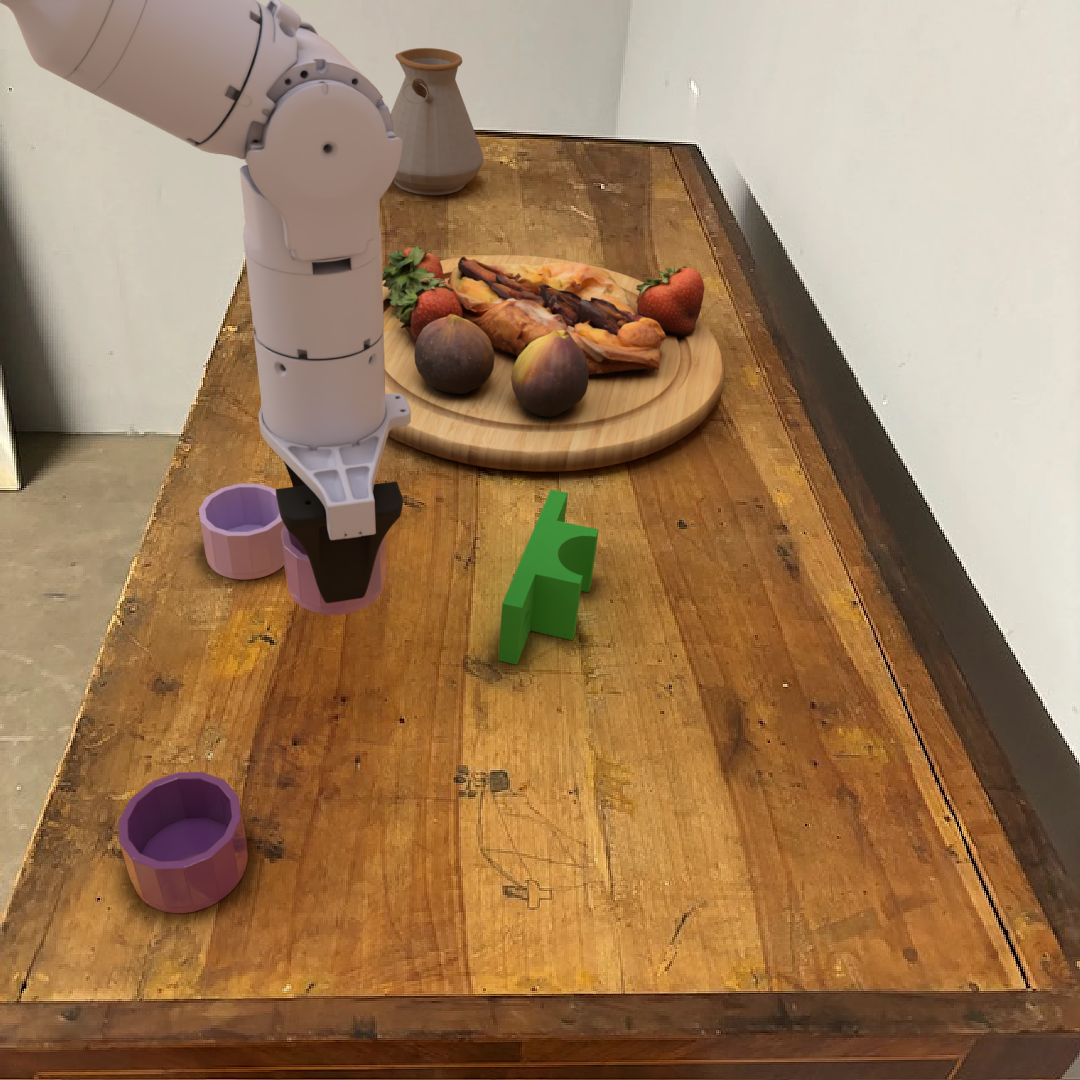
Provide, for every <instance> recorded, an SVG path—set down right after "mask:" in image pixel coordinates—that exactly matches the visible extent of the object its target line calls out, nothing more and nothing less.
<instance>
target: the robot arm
mask: <svg viewBox="0 0 1080 1080" xmlns="http://www.w3.org/2000/svg"><path fill="white" fill-rule="evenodd" d="M0 4H2V5H3V6H5V7H7V8H8V9H9V10H10V12H11V13H12V14H13V16H14V18H15V20H16V22H17V25H18V28H19V30H20V32H21V35H22V37H23V40H24V42H25V44H26V47H27V49H28V51H29V54H30V56H31V58H32V60H33V61H34V62H35V64H36V65H37V66H38V67H40V68H42V69H44V70H46V71H48V72H50V73H52V74H54V75H56V76H57V77H60V78H61V79H63V80H66V81H67V82H69V83H71V84H73V85H75V86H77V87H79V88H80V89H82V90H85V91H87V92H88V93H90V94H92V95H94V96H96V97H98V98H100V99H101V100H103V101H106V102H108V103H109V104H111V105H113V106H115V107H117V108H119V109H121V110H123V111H125V112H127V113H128V114H131V115H133V116H135V117H136V118H138V119H140V120H142V121H144V122H146V123H148V124H150V125H152V126H154V127H155V128H158V129H160V130H162V131H164V132H166V133H168V134H170V135H171V136H173V137H175V138H177V139H179V140H181V141H182V142H185V143H187V144H189V145H191V146H192V147H194V148H196V149H198V150H200V151H202V152H205V153H208V154H215V155H223V156H229V157H234V158H237V159H239V160H244V162H245V164H244V165H242V166H241V167H240V168H239V175H240V176H239V177H240V187H241V195H242V204H243V205H242V206H243V213H244V226H243V233H242V235H243V236H242V237H243V238H242V239H243V247H244V254H245V255H244V256H245V264H246V273H247V284H248V291H249V300H250V310H251V317H252V318H251V319H252V328H253V339H254V348H255V356H256V365H257V374H258V384H259V394H260V404H261V406H259V408H258V424H259V432H260V435H261V437H262V439H263V441H264V442H265V443H266V444H267V446H269V447H270V448H271V449H272V450H273V451H274V452H275V454H277V456H278V457H279V459H281V460H282V461H283V464H284V466H285V468H286V470H287V474H288V475H289V478H290V481H291V485H292V486H290V487H281V488H275V489H276V497H277V502H278V507H279V512H280V516H281V519H282V521H283V523H284V525H285V526H286V528H287V530H288V531H289V532H290V533H291V534H292V535H293V536H294V537H295V538H296V539H297V540H298V541H299V543H300V544H301V545H302V547H303V549H304V550H305V552H306V554H307V556H308V558H309V561H310V564H311V567H312V570H313V573H314V577H315V580H316V583H317V586H318V589H319V591H320V594H321V596H322V598H323V600H324V601H325V602H326V603H333V602H340V601H346V600H353V599H359V598H363V597H364V596H365V594H366V591H367V589H368V586H369V582H370V579H371V575H372V571H373V567H374V563H375V559H376V555H377V552H378V549H379V547H380V545H381V542H382V540H383V539H384V537H385V535H386V536H387V534H388V532H389V530H390V529H391V528H392V526H393V525H394V524H395V523H396V522H397V520H399V518H401V515H402V511H403V506H404V499H403V495H402V492H401V489H400V486H399V483H398V481H390V482H382V483H376V479H377V476H378V472H379V469H380V465H381V461H382V457H383V454H384V450H385V447H386V443H387V440H388V437H389V436H388V433H389V431H390V430H391V429H393V428H396V427H403V426H407V425H408V424H409V423H410V422H411V410H410V407H409V405H408V402H407V400H406V398H405V397H404V396H403V395H401V394H398V393H392V394H385V362H384V320H383V280H382V274H383V244H382V238H383V237H382V231H381V225H380V224H381V223H380V200H381V198H383V196H384V195H385V194H386V192H387V191H388V189H389V188H390V187H391V184H392V183H393V182H394V181H393V179H394V177H395V175H396V172H397V170H398V167H399V163H400V160H401V154H402V143H403V142H402V140H401V139H400V138H399V137H396V135H395V134H394V132H393V123H392V119H391V115H390V114H391V111H390V108H389V107H388V105H387V104H386V103H385V102H384V99H383V98H384V96H383V95H382V94H381V92H380V90H379V89H378V88H377V87H376V86H375V84H373V83H372V82H371V81H370V80H369V79H368V78H367V77H366V76H365V75H364V74H363V72H361V71H360V70H359V69H358V68H357V67H356V66H355V65H354V64H353V63H352V62H351V61H350V60H349V59H348V58H347V57H346V56H345V55H344V54H343V53H342V52H340V51H339V49H338V48H337V47H336V46H335V45H334V44H332V43H331V42H330V41H328V40H327V39H325V38H324V37H322V36H321V35H319V34H318V31H317V30H316V29H315V27H314V26H313V24H311V23H310V22H308V21H304V20H302V18H301V16H300V14H299V13H298V12H297V11H296V10H295V9H294V8H292V7H291V6H290V5H288V4H286V3H285V2H283V1H282V0H268V1H267V3H266V6H265V4H262V3H261V2H260V1H258V0H0Z"/></svg>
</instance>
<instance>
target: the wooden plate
mask: <svg viewBox="0 0 1080 1080" xmlns="http://www.w3.org/2000/svg"><path fill="white" fill-rule="evenodd" d="M431 251H433V249H423V248H422V247H420V246H419V245H415V246H413V247H407V248H405V249H403V250H402V249H399V251H398V250H397V249H396V250H395V251H394V252H391V253H390V254H389V255H388V256H387V258H388V261H389V264H388V265H387V266H385V267H384V268H383V273H382V280H383V320H384V362H385V394H392V393H398V394H401V395H403V396H404V397H405V398H406V400H407V402H408V405H409V407H410V410H411V422H410V423H409V424H408V425H407V426H403V427H396V428H393V429H391V430H390V431H389V433H388V436H387V437H390V438H391V439H393V440H395V441H397V442H400V443H401V444H404V445H406V446H409V447H411V448H414V449H416V450H419V451H420V452H421V451H422V452H423V453H427V454H430V455H433V456H436V457H439V458H442V459H445V460H450V461H453V462H454V461H455V462H458V463H461V464H466V465H471V466H477V467H483V468H491V469H496V470H497V469H498V470H505V471H521V472H570V471H581V470H589V469H596V468H597V469H598V468H603V467H608V466H613V465H618V464H623V463H626V462H630V461H631V462H632V461H634V460H638V459H641V458H643V457H646V456H649V455H651V454H654V453H656V452H659V451H661V450H663V449H665V448H667V447H669V446H671V445H673V444H675V443H676V442H678V441H680V440H681V439H683V438H684V437H686V436H687V435H690V434H691V432H693V431H694V430H695V429H696V428H697V427H699V425H701V424H702V423H703V422H704V421H705V419H706V418H707V417H708V416H709V415H710V414H711V412H712V411H713V409H714V408H715V406H716V405H717V403H718V401H719V400H720V397H721V395H722V391H723V388H724V383H725V372H726V371H725V362H724V356H723V352H722V351H721V350H722V349H721V348H720V346H719V344H718V342H717V339H716V338H715V336H714V335H713V333H712V331H711V330H710V328H709V327H708V326H707V325H706V323H705V322H703V321H702V320H701V319H700V313H701V310H702V304H703V300H704V295H705V294H704V293H705V284H704V279H703V277H702V275H701V273H700V272H699V271H698V270H697V269H695V268H692V267H687V266H686V265H685V264H684V265H683V266H679V267H678V269H677V270H676V268H675V266H672V268H670V267H666V268H665V270H666V272H665V273H664V272H662V271H661V270H659V269H657V272H658V274H659V275H660V277H658V278H653V279H651V278H648V277H647V276H643V279H645V281H647V282H643V281H641V280H639V279H637V278H634V277H632V276H629V275H626V274H623V273H620V272H617V271H614V270H610V269H607V268H603V267H599V266H595V265H592V264H587V263H584V262H579V261H573V260H568V259H561V258H553V257H547V256H546V257H545V256H535V255H517V254H495V255H474V256H461V257H456V258H448V259H442V260H440V259H439V258H438V257H437V256H436V255H435V254H434V253H430V252H431Z"/></svg>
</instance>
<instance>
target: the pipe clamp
mask: <svg viewBox="0 0 1080 1080" xmlns="http://www.w3.org/2000/svg"><path fill="white" fill-rule="evenodd" d="M568 497H569V492H567V491H566V492H565V491H561V490H556V489H552V488H551V489H550V490H549V492H548V494H547V497H546V500H545V502H544V504H543V507H542V509H541V512H540V514H539V516H538V517H537V520H536V523H535V525H534V528H533V529H532V532H531V535H530V537H529V539H528V542H527V545H526V546H525V549H524V551H523V554H522V556H521V559H520V561H519V563H518V566H517V567H516V570H515V573H514V575H513V577H512V579H511V583H510V584H509V587H508V589H507V591H506V594H505V596H504V597H503V598H504V599H503V601H502V603H501V619H500V630H499V631H500V633H499V648H498V661H499V662H503V663H508V664H512V665H516V666H517V665H518V663H519V661H520V659H521V656H522V654H523V651H524V648H525V646H526V643H527V640H528V638H529V634H530V632H534V633H535V632H536V633H540V634H544V635H548V636H552V637H557V638H560V639H561V638H562V639H565V640H569V641H573V640H574V638H575V634H576V631H577V623H578V615H579V608H580V599H581V593H582V592H585V593H590V589H591V586H592V583H593V582H592V581H593V574H594V566H595V559H596V551H597V544H598V537H599V530H600V529H598V528H594V527H589V526H585V525H579V524H574V523H570V522H566V515H567V505H568Z"/></svg>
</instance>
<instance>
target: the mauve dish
mask: <svg viewBox="0 0 1080 1080" xmlns="http://www.w3.org/2000/svg"><path fill="white" fill-rule="evenodd" d="M386 536H387V534H386V535H385V537H384V539H383V540H382V542H381V545H380V547H379V549H378V552H377V555H376V559H375V563H374V567H373V571H372V575H371V579H370V582H369V586H368V589H367V591H366V594H365V596H364V597H363V598H359V599H353V600H346V601H340V602H333V603H326V602H325V601H324V600H323V598H322V596H321V594H320V591H319V589H318V586H317V583H316V580H315V577H314V573H313V570H312V567H311V564H310V561H309V558H308V556H307V554H306V552H305V550H304V549H303V547H302V545H301V544H300V543H299V541H298V540H297V539H296V538H295V537H294V536H293V535H292V534H291V533H290V532H289V531H288V530H287V528H286V526H285V525H284V527H283V529H282V531H281V538H282V548H283V557H284V566H283V567H284V575H285V580H286V588H287V591H288V594H289V596H290V598H291V599H292V600H293V601H294V602H295V604H297V605H298V606H300V607H301V608H303V609H304V610H307V611H309V612H312V613H315V614H318V615H326V616H327V615H328V616H341V615H347V614H352V613H355V612H359V611H360V610H364V609H365V608H367V607H369V606H371V605H372V604H373V603H375V602H376V601H377V600H378V599H379V598H380V597H381V595H382V594H383V592H384V590H385V587H386V580H387V579H386V577H387V574H388V573H387V572H388V571H387V570H388V569H387V540H386V539H387V537H386Z"/></svg>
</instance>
